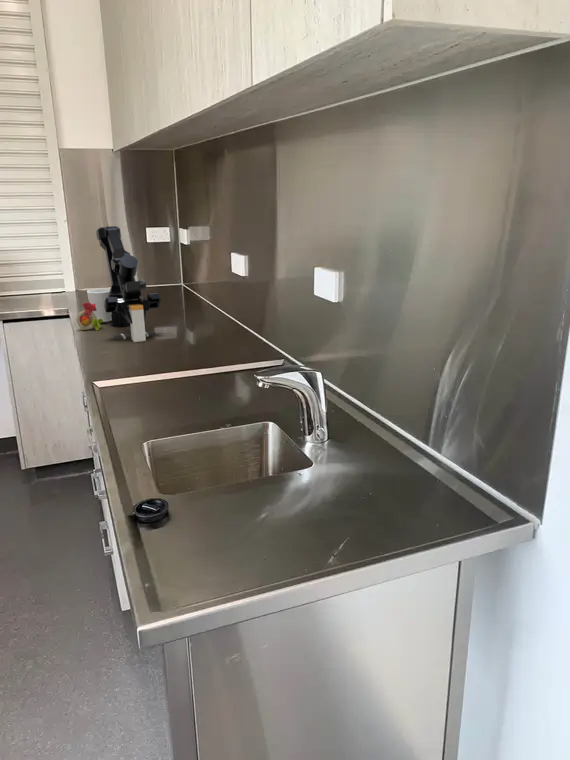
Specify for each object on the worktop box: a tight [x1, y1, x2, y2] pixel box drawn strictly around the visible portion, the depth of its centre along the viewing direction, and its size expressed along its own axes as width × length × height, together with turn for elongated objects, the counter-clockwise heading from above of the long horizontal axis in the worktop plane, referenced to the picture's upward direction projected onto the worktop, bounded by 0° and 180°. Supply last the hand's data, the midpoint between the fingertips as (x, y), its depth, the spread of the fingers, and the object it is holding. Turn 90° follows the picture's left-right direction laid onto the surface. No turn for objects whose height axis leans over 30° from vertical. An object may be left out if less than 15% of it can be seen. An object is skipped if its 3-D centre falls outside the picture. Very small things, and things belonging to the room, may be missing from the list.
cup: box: [86, 287, 112, 324], centre depth 234 cm, size 10×10×13 cm
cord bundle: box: [113, 330, 158, 341], centre depth 212 cm, size 15×5×2 cm, turn 116°
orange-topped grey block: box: [129, 304, 147, 343], centre depth 204 cm, size 4×4×12 cm
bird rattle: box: [76, 301, 104, 331], centre depth 222 cm, size 6×11×9 cm
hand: (138, 322), depth 203 cm, fingers closed on orange-topped grey block, 4 cm apart
